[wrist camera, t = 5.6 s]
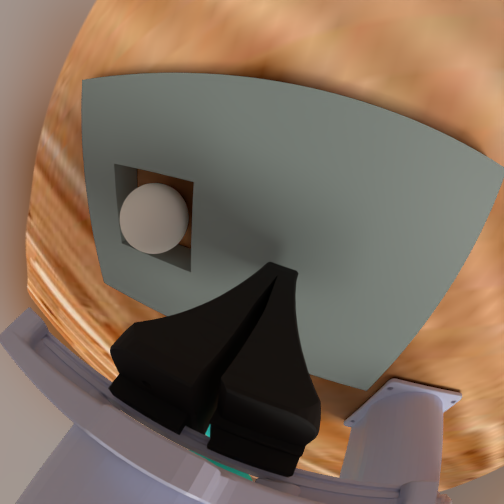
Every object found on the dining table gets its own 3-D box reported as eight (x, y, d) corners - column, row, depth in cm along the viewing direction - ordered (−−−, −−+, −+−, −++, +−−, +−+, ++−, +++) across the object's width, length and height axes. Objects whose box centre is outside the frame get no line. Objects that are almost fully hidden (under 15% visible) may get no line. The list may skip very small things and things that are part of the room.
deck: (369, 368, 18) (366, 390, 16) (118, 269, 22) (104, 282, 21) (488, 158, 8) (506, 169, 7) (105, 77, 13) (82, 79, 12)
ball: (111, 248, 15) (156, 219, 18) (155, 279, 14) (200, 243, 17) (102, 189, 13) (155, 165, 16) (150, 216, 12) (205, 185, 14)
